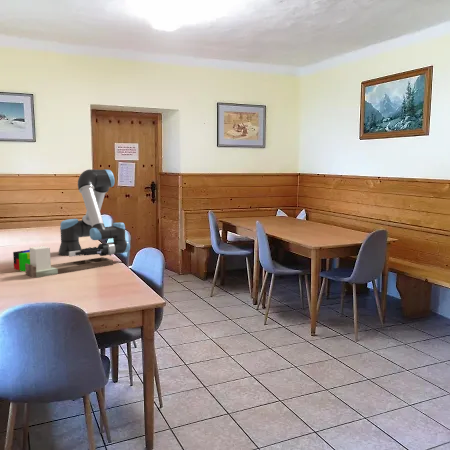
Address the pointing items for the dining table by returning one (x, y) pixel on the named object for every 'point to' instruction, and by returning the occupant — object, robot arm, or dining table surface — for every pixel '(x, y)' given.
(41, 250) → the block
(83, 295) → the dining table surface
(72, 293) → the dining table surface
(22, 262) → the puzzle toy
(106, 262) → the trap box
